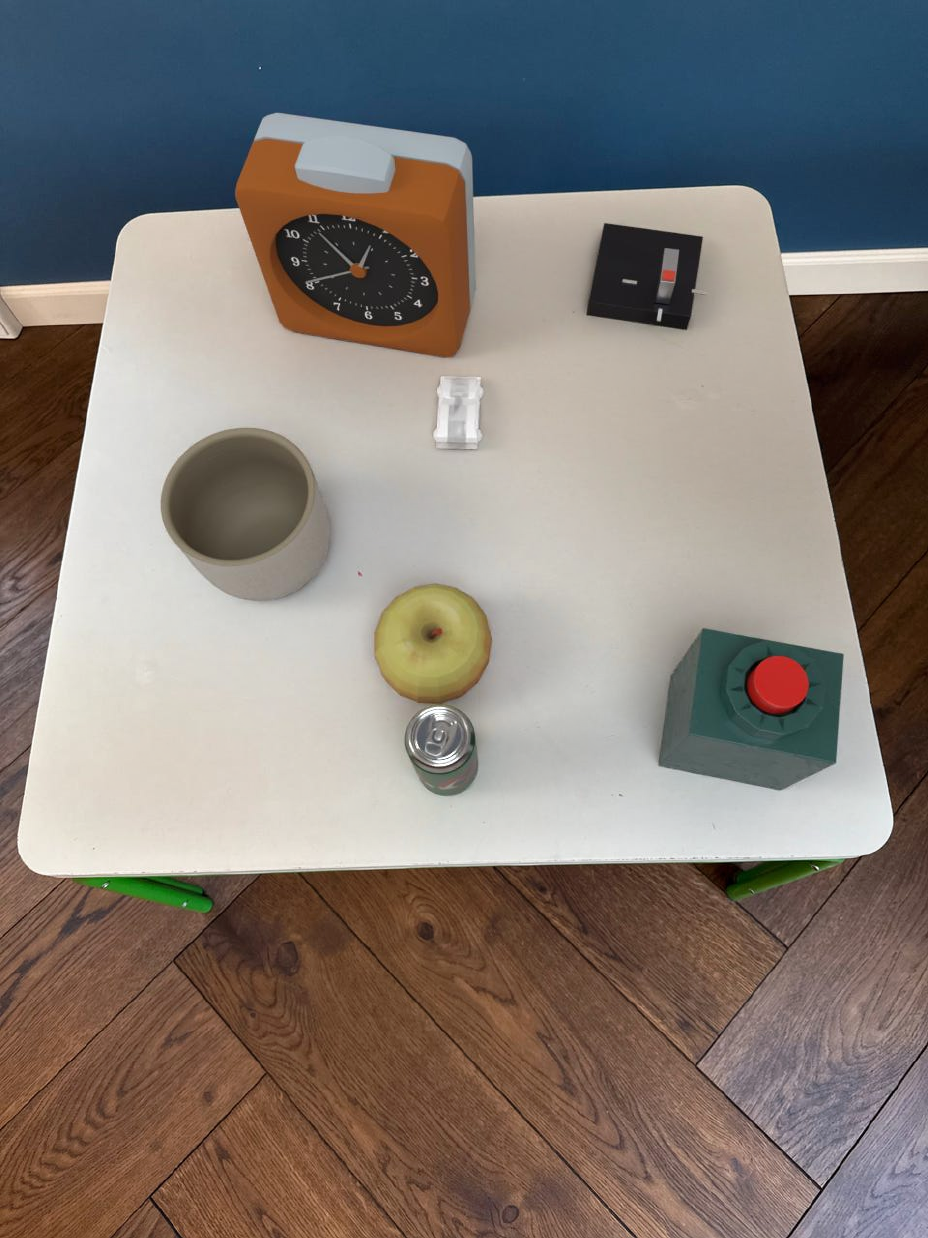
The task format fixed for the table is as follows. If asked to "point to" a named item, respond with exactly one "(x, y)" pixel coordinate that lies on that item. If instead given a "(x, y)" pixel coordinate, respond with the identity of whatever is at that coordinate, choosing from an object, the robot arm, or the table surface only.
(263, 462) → the planter
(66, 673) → the table surface
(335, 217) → the alarm clock
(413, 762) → the soda can
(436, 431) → the toy car
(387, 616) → the apple
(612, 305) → the black flat square piece
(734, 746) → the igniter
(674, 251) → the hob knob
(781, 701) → the button
